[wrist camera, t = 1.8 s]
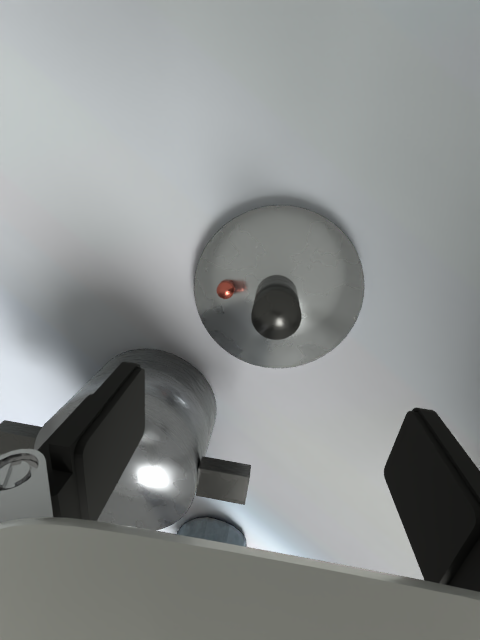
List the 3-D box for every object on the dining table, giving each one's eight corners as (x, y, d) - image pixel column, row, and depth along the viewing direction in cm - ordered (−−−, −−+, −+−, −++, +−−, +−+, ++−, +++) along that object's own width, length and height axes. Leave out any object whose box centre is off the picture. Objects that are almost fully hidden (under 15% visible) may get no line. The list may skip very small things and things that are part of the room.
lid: (381, 217, 24) (416, 223, 18) (338, 372, 29) (353, 417, 23) (203, 194, 25) (180, 193, 19) (193, 349, 30) (172, 386, 24)
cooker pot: (263, 367, 29) (258, 434, 21) (246, 467, 34) (236, 554, 26) (53, 333, 31) (-30, 383, 22) (66, 434, 35) (1, 507, 27)
